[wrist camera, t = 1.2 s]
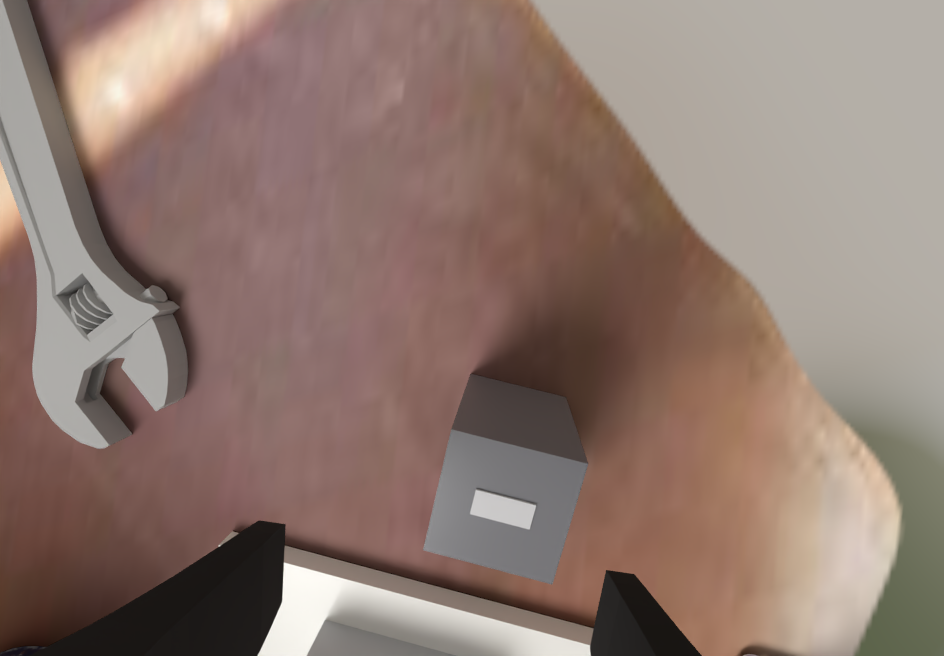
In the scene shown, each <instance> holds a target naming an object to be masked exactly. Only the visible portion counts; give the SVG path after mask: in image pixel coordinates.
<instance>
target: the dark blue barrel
mask: <svg viewBox="0 0 944 656" xmlns="http://www.w3.org/2000/svg"><path fill="white" fill-rule="evenodd" d="M44 648H46V647H41V646H24V647H18V648H12V649H10V650H7V651H4V652H1V653H0V656H29V655H31V654H33V653H35V652H38V651H40V650H42V649H44Z"/></svg>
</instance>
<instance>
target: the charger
mask: <svg viewBox="0 0 944 656" xmlns="http://www.w3.org/2000/svg"><path fill="white" fill-rule="evenodd" d="M587 466H588V462H587V459H586V456H585V453H584V450H583V447H582V444H581V441H580V438H579V435H578V432H577V429H576V426H575V423H574V420H573V417H572V414H571V411H570V408H569V405H568V402H567V399H566V397H563V396H559V395H555V394H551V393H547V392H543V391H539V390H535V389H531V388H527V387H523V386H519V385H515V384H511V383H507V382H503V381H498V380H494V379H490V378H486V377H482V376H478V375H474V374H470V377H469V380H468V383H467V386H466V389H465V392H464V394H463V397H462V400H461V403H460V406H459V409H458V412H457V415H456V418H455V420H454V423H453V426H452V429H451V433H450V437H449V442H448V446H447V450H446V455H445V459H444V463H443V467H442V472H441V476H440V480H439V485H438V489H437V493H436V497H435V502H434V506H433V510H432V515H431V519H430V523H429V528H428V532H427V536H426V540H425V545H424V549H423V550H425V551H428V552H432V553H436V554H440V555H444V556H447V557H451V558H455V559H459V560H462V561H466V562H470V563H474V564H477V565H481V566H485V567H489V568H492V569H496V570H500V571H504V572H507V573H511V574H515V575H519V576H522V577H526V578H530V579H534V580H537V581H541V582H545V583H549V584H553V580H554V577H555V574H556V570H557V567H558V564H559V560H560V557H561V553H562V550H563V547H564V543H565V540H566V537H567V533H568V530H569V527H570V523H571V520H572V516H573V513H574V510H575V506H576V503H577V500H578V496H579V493H580V490H581V486H582V483H583V479H584V476H585V473H586V469H587Z"/></svg>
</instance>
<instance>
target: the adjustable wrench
mask: <svg viewBox="0 0 944 656" xmlns="http://www.w3.org/2000/svg"><path fill="white" fill-rule="evenodd" d="M0 161H1V163H2V166H3V169H4V171H5V174H6V177H7V180H8V182H9V185H10V188H11V191H12V193H13V196H14V199H15V201H16V204H17V207H18V210H19V212H20V215H21V218H22V221H23V223H24V226H25V229H26V232H27V234H28V237H29V240H30V244H31V247H32V251H33V255H34V258H35V267H36V275H37V327H36V336H35V346H34V356H33V365H32V371H33V380H34V384H35V388H36V392H37V395H38V398H39V400H40V402H41V404H42V406H43V407H44V409H45V410H46V412H47V413H48V415H49V416H50V418H51V419H52V420H53V421H54V422H55V423H56V424H57V425H58V426H59V427H60V428H61V429H62V430H63V431H64V432H66V433H67V434H69V435H70V436H72V437H73V438H74V439H76V440H77V441H79V442H80V443H83V444H86V445H89V446H92V447H95V448H98V449H100V448H105V447H107V446H109V445H112V444H114V443H116V442H118V441H120V440H122V439H124V438H126V437H128V436H130V435H132V433H131V432H130V430H129V429H128V428H127V427H126V425H125V424H124V423H123V422H122V420H121V419H120V418H119V417H118V416H117V414H116V413H115V412H114V411H113V409H112V408H111V407H110V406H109V404H108V403H107V402H106V401H105V399H104V398H103V397H102V396H101V394H100V391H101V387H102V384H103V381H104V377H105V374H106V370H107V367H108V364H109V363H110V362H111V361H113V360H114V359H116V358H125V360H124V362H123V365H122V367H121V368H122V369H123V370H124V371H125V373H126V374H127V375H128V377H129V378H130V379H131V380H132V382H133V383H134V384H135V385H136V387H137V388H138V389H139V390H140V392H141V393H142V394H143V396H144V397H145V398H146V399H147V401H148V402H149V403H150V404H151V406H152V407H153V408H154V410H155V411H158V410H160V409H162V408H165V407H167V406H169V405H171V404H173V403H176V402H177V401H179V400H180V399H182V398H183V397H184V396H185V391H186V387H187V378H188V361H187V354H186V349H185V345H184V342H183V338H182V335H181V332H180V330H179V327H178V325H177V322H176V320H175V318H174V316H173V314H172V313H174V312H175V311H176V310H177V309H179V308H180V307H179V306H178V305H177V304H176V303H174V302H173V301H169V300H167V299H168V298H167V295H166V293H165V292H164V291H163V290H162V289H161V288H160V287H157V286H154V285H152V286H150V287H149V288H148V289H146V288H144V287H143V286H142V285H141V284H140V283H139V282H138V281H137V280H135V279H134V278H133V277H132V276H131V275H130V274H129V273H127V272H126V271H125V270H124V268H123V267H122V266H121V265H120V264H119V262H118V261H117V260H116V259H115V257H114V255H113V254H112V252H111V250H110V248H109V247H108V245H107V243H106V241H105V238H104V236H103V234H102V231H101V229H100V226H99V223H98V220H97V217H96V214H95V211H94V207H93V204H92V201H91V198H90V195H89V192H88V189H87V186H86V183H85V179H84V176H83V173H82V170H81V167H80V164H79V161H78V158H77V155H76V151H75V148H74V145H73V142H72V139H71V136H70V133H69V130H68V126H67V123H66V120H65V117H64V114H63V111H62V108H61V105H60V102H59V98H58V95H57V92H56V89H55V86H54V83H53V80H52V77H51V74H50V70H49V67H48V64H47V61H46V58H45V55H44V52H43V49H42V46H41V42H40V39H39V36H38V33H37V30H36V27H35V24H34V21H33V17H32V14H31V11H30V8H29V5H28V2H27V0H0Z"/></svg>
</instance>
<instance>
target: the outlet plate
mask: <svg viewBox="0 0 944 656" xmlns="http://www.w3.org/2000/svg"><path fill="white" fill-rule="evenodd" d="M237 534H239V533H237V532H233V531H232V532H231V533H230V534H229V535H228V536H227V537H226V538H225V539H224V540H223V541H222V542H221V543H220V544H219V546H221V545H222V544H224V543H225V542H227V541H228V540H230V539H231V538H233V537H234V536H236V535H237ZM593 630H594V628H590V627H586V626H583V625H579V624H575V623H571V622H568V621H564V620H560V619H557V618H553V617H549V616H545V615H542V614H538V613H534V612H531V611H527V610H523V609H519V608H516V607H512V606H508V605H505V604H501V603H497V602H493V601H490V600H486V599H482V598H478V597H475V596H471V595H467V594H464V593H460V592H456V591H452V590H449V589H445V588H441V587H438V586H434V585H430V584H426V583H423V582H419V581H415V580H412V579H408V578H404V577H400V576H397V575H393V574H389V573H385V572H382V571H378V570H374V569H371V568H367V567H363V566H359V565H356V564H352V563H348V562H345V561H341V560H337V559H333V558H330V557H326V556H322V555H318V554H315V553H311V552H307V551H304V550H300V549H296V548H292V547H289V546H285V549H284V572H283V596H282V603H281V606H280V608H279V610H278V613H277V615H276V617H275V619H274V622H273V624H272V626H271V629H270V631H269V633H268V635H267V637H266V639H265V642H264V644H263V646H262V648H261V650H260V652H259V654H258V656H591V653H590V644H591V639H592V634H593Z"/></svg>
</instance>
